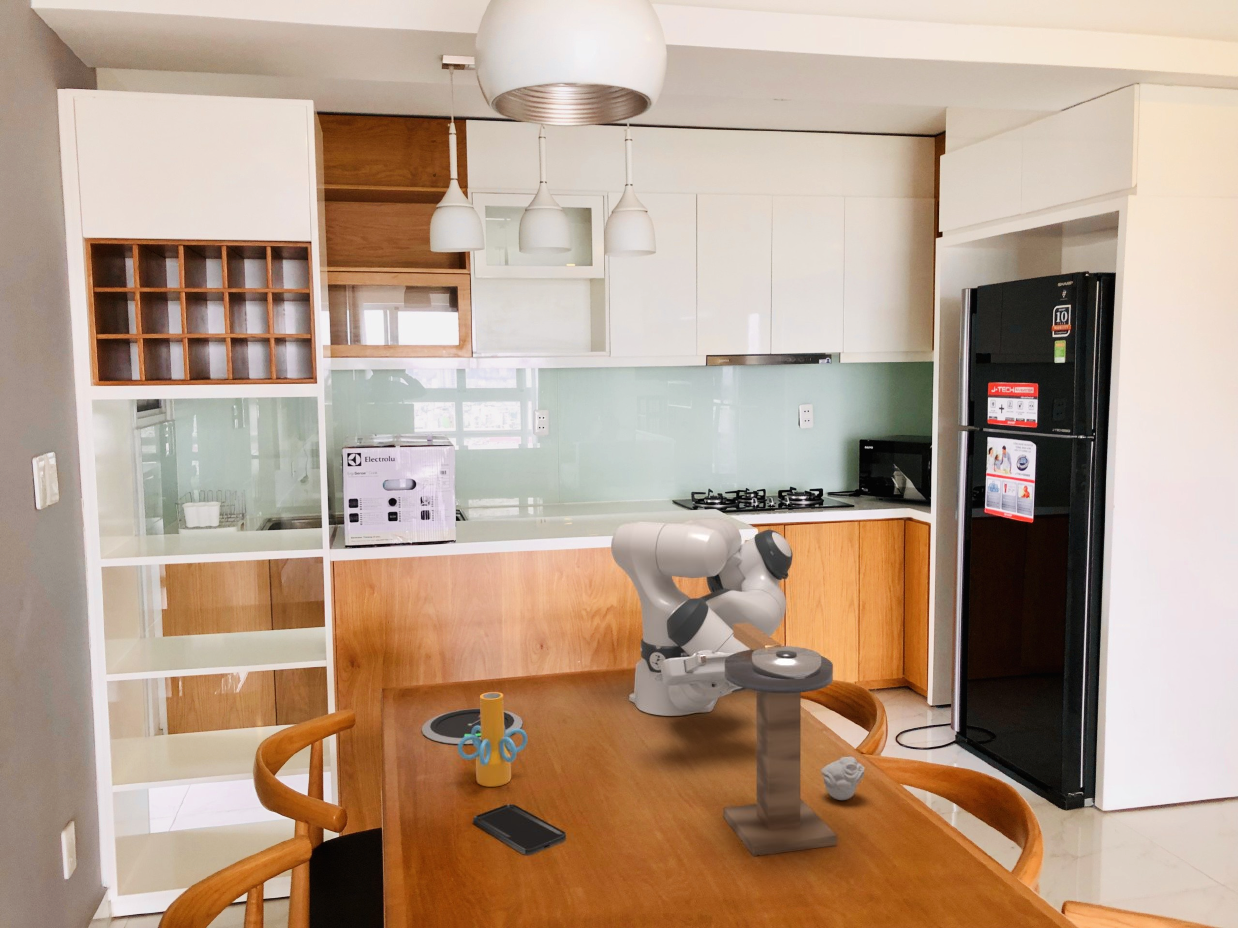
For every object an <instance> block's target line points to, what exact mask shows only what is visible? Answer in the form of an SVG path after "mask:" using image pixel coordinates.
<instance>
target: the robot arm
mask: <svg viewBox="0 0 1238 928" xmlns="http://www.w3.org/2000/svg"><path fill="white" fill-rule="evenodd" d="M610 545H611V546H610V551H611V554H612V558H613V560H614V562H615V563H616V564H617V566H618V567H619V568H621V569H622V570H623V572H625V574H626V575H627V576H628V578H629V579H630V580H631V582H632V584H633V585H634V587H635V590H636V592H637V595H638V598H639V602H640V608H641V618H642V619H641V620H642V639H640V649H639V650H640V657H641V659H640V660H638V662H637V663H636V664H635V673H634V674H635V675H634V692H632V693H630V694H629V695H628V697H629V698H628V700H629V701H630V702H632V703H634V704H635V706H636V708H637V709H638V710H640V711H641V712H644V713H646V714H652V715H656V716H666V717H667V716H669V717H670V716H671V717H673V716H685V715H691V714H695V713H700V714H701V713H709V712H712V711H713V710H714V707H715V705H716V703H717V702H718V699H720V698H722V697H724V696H726V695H729V694H733V693H736V692H741V691H745V690H747V689H745V688H742V687H739V686H736V685H734V684H732V683H730V682H729V681H728V680H727V679H726V678H725V659H726V658H727V657H728V656H730V655H732V654H735V653H737V652H741V651H746V650H751V649H749V648H748V647H747V646H745V645H744V644H743V643H741V642H740V641H738V640H737V639H736V638H734V637H733V624H736V623H749V624H751V625H752V626H754V627H755V628H757V629H758V630H760V631H762V632H763V633H765V634H766V635H768V636H769V637H771V636H772V635H773V634H774V633H775V632H776V631H777V629H778V628H779V627H780V625H782V624H781V623H782V622H783V619H784V617H785V615H786V609H787V599H786V596H785V593H784V592H783V591H782V589H781V588H780V581H781V580H787V579H788V577H789V570H790V568H791V566H792V563H793V550H792V548H791V546H790V545H789V543H788V541H787V540H786V538H785V537H784V536H783V535H781V533H780V532H778V531H776V530H772V529H771V528H770V529H769V528H768V529H765V530H763V531H760V532H758V533H757V534H754V537H752V538H750V539H748V540H746V541H745V542H743V543H742V534H741V532H740V530H739V529H738V527H737V526H736V525H735V524H734V523H732V522H730V521H728V520H726V519H722V518H717V517H716V518H715V517H706V518H705V517H704V518H698V519H689V520H686V521H684V522H682V523H678V522H677V523H676V522H659V521H646V520H640V521H639V520H638V521H634V522H632V521H631V522H628V523H623V524H621V525H619V527H618V528H616V530H615V532H614V533H613V536H612V538H611V544H610ZM673 577H675V578H677V577H678V578H688V579H698V578H706V584H707V587H708V589H709V592H710V593H707V594H706V595H702V596H701V597H700V596H699V597H694V598H690V596H688V595H687V594H686V593H685V592H683V591H682V590H680V589H679V587H678V586H677V584H676V583H675V581H674V579H673Z"/></svg>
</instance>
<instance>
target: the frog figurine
mask: <svg viewBox="0 0 1238 928" xmlns="http://www.w3.org/2000/svg"><path fill="white" fill-rule="evenodd" d="M865 769H866V768H865V766H863V764H862V763H860V762H858V760H857V759H856V758H855V756H842V757H840V758H839V759H838V760H835V761H832V762H831V763H829V764H827V765H825V766H824V767H823V768H822V769H821V771H820V773H821V774H822V775H823V782H824V785H825V789H826V792H827V793H828V794H829V795H830V797H832V798H833V799H835V800H839V801H846V800H849V799H852V797H853V796H854V795H855V793H856V791H857V786H858V785H857V784H859V783H861V781H862V779H863V778H864V776H865V772H864V771H865Z"/></svg>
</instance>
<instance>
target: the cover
mask: <svg viewBox="0 0 1238 928" xmlns="http://www.w3.org/2000/svg"><path fill="white" fill-rule="evenodd" d="M733 637H734V638H736V639H737V640H738V641H740V642H741V643H743V644H744V645H745V646H747V647H748V648H749V649H751V650H752V651H753V653H752V670H753V671H754V672H756V673H758V674H760V675H763V676H766V677H771V678H778V679H804V678H809V677H813V676H816V675H818V674H819V673H820V672H821V656H822V655H821V654H820V653H819V652H817V651H815V650H813V649H809V648H805V647H799V646H789V645H787V646H786V645H782V644H781V643H780V642H778V641H776V640H775V639H773V638H772V637H771V636H770V637H769V636H768V635H766V634H765V633H763V632H762V631H760V630H758V629H757V628H755V627H754V626H752V625H751V624H749V623H736V624H733Z"/></svg>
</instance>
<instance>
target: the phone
mask: <svg viewBox="0 0 1238 928" xmlns="http://www.w3.org/2000/svg"><path fill="white" fill-rule="evenodd" d="M472 821H473V822H472V823H473V825H474V826H476V827H477V828H479V829H481V830H482V831H484V832H486V833H487V834H489V835H490V836H492V837H494V838H496V839H497V840H499V841H500V842H502V843H504V844H505V845H507V846H509V847H510V848H512V849H513V850H515V851H517V852H519V853H520V854H522V855H524V856H531V855H534V854H537V853H540V852H542V851H545V850H547V849H549V848H551V847H552V848H553V847H554V846H556V845H559V844H562V843H563V842H565V841H566V839H567V835H566V832H565V831H564V830H562V829H560V828H558V827H556V826H555V825H553V824H550V823H549V822H547V821H545V820H543V819H542V818H540V817H538V816H537V815H535V814H533V813H531V812H529V811H527V810H525V809H523V808H521V807H520V806H518V805H516V804H513V803H512V804H511V803H508V804H504V805H502V806H499V807H495V808H493V809H491V810H487V811H485V812H482V813H480V814H479V813H478V814H477V815H474V816H473V818H472Z"/></svg>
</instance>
